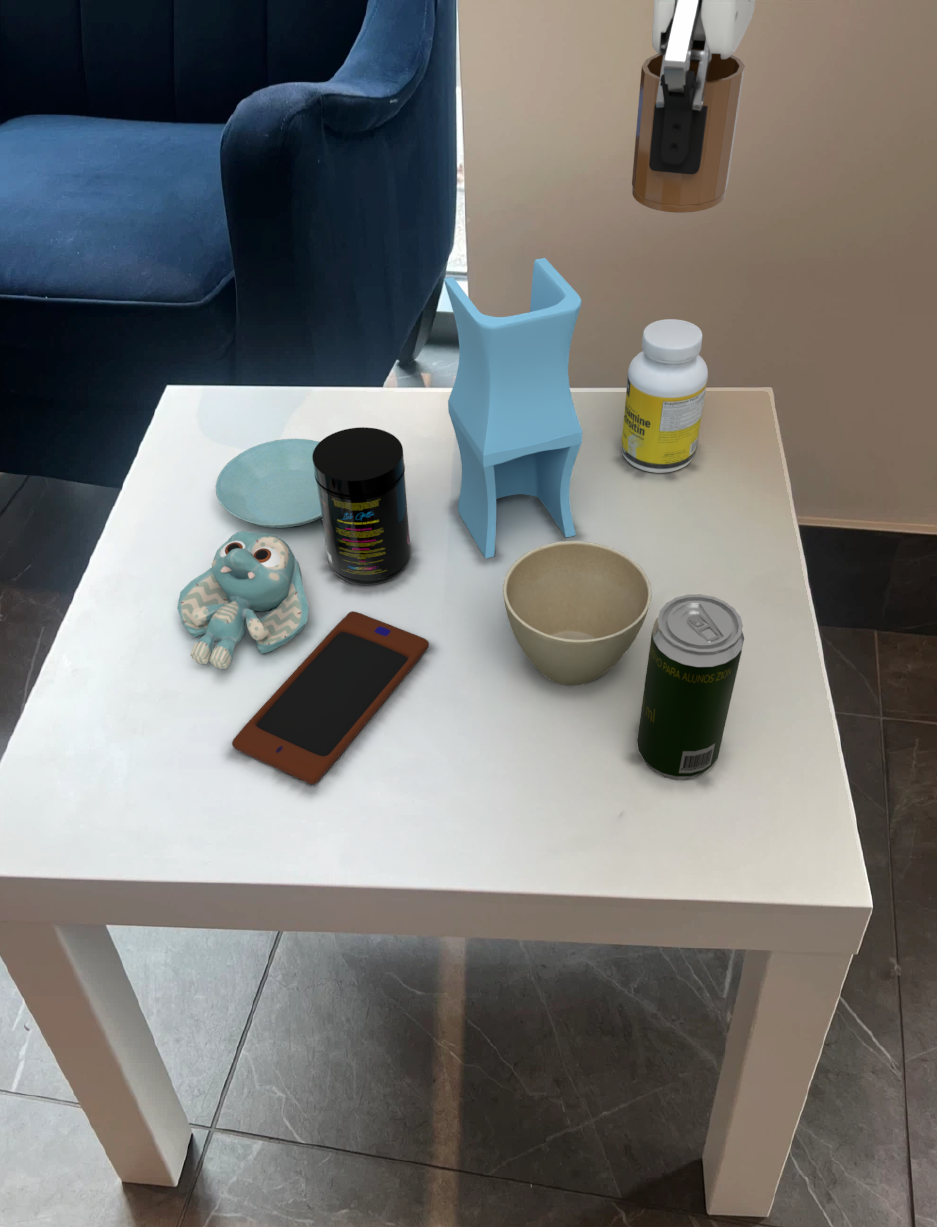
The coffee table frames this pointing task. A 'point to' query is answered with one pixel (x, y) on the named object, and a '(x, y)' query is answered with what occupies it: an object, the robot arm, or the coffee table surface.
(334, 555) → the supplement container
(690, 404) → the pill bottle
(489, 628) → the coffee table surface
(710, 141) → the wooden cup
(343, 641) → the smartphone
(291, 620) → the stuffed animal
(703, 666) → the beer can
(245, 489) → the saucer
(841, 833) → the coffee table surface
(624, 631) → the flower pot
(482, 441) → the blue doll chair
